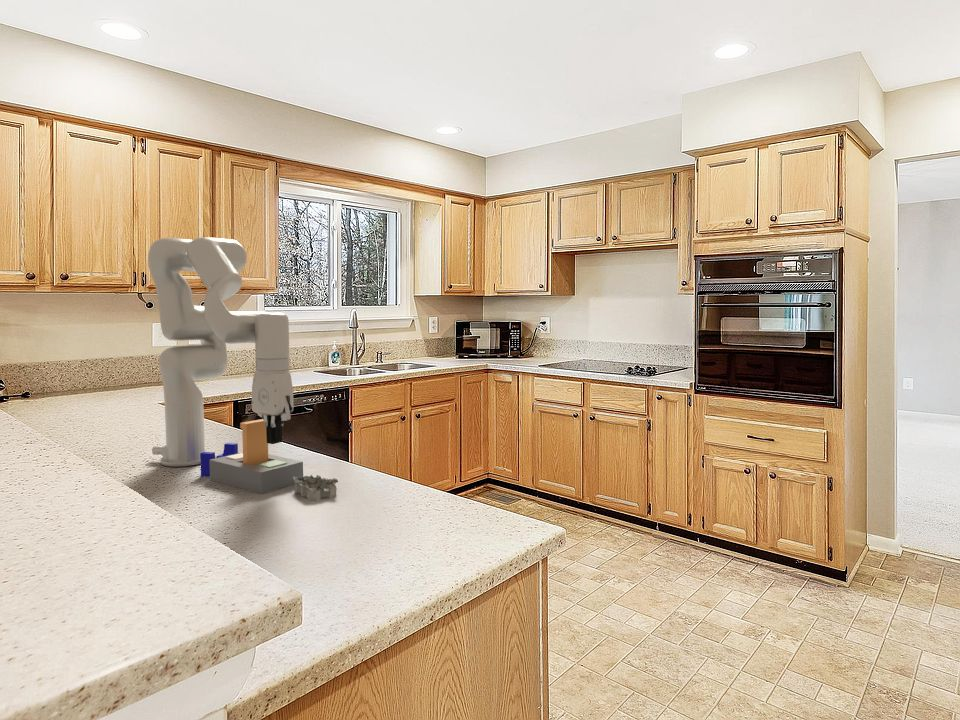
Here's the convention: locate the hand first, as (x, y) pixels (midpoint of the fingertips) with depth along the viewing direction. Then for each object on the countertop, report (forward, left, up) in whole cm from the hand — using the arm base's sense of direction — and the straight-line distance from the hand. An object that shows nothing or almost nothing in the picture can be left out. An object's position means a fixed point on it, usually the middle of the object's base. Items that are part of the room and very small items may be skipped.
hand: (274, 442), depth 149 cm
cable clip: (-19, +14, -11) cm, 26 cm away
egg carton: (+11, -6, -11) cm, 16 cm away
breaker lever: (-6, +4, -8) cm, 11 cm away
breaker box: (-6, +4, -10) cm, 13 cm away
